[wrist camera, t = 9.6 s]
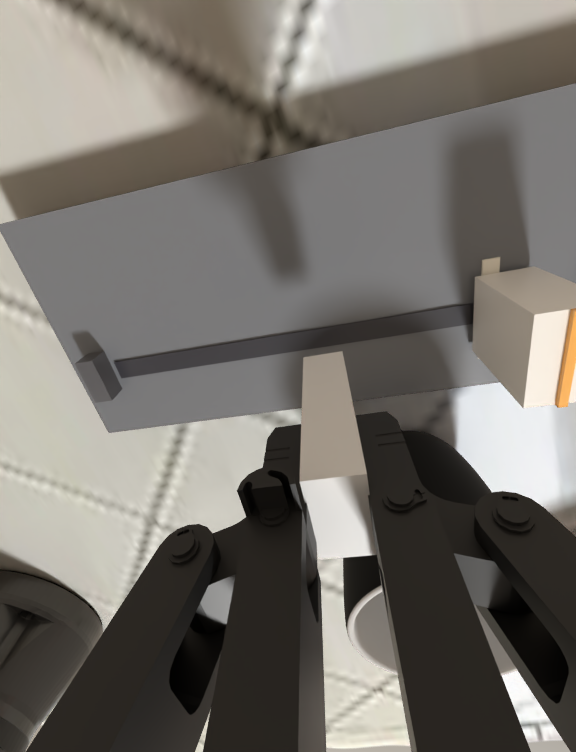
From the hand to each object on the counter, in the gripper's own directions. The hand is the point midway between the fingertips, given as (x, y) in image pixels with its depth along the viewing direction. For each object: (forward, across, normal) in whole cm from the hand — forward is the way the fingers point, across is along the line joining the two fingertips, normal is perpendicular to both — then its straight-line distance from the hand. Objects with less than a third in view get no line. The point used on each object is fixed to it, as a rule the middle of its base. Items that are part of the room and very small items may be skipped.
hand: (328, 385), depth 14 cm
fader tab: (+4, +8, 0) cm, 9 cm away
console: (+6, +2, +2) cm, 7 cm away
